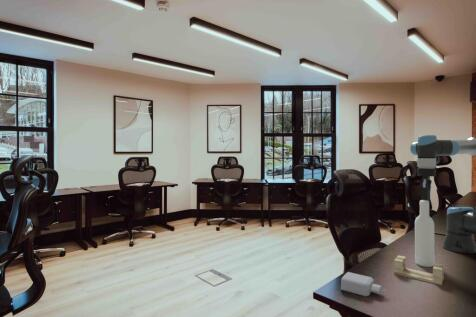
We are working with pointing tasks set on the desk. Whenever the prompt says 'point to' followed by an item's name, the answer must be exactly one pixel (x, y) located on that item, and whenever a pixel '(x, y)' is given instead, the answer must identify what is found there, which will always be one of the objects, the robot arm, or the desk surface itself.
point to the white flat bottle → (360, 284)
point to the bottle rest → (424, 276)
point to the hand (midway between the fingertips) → (425, 217)
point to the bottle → (424, 237)
